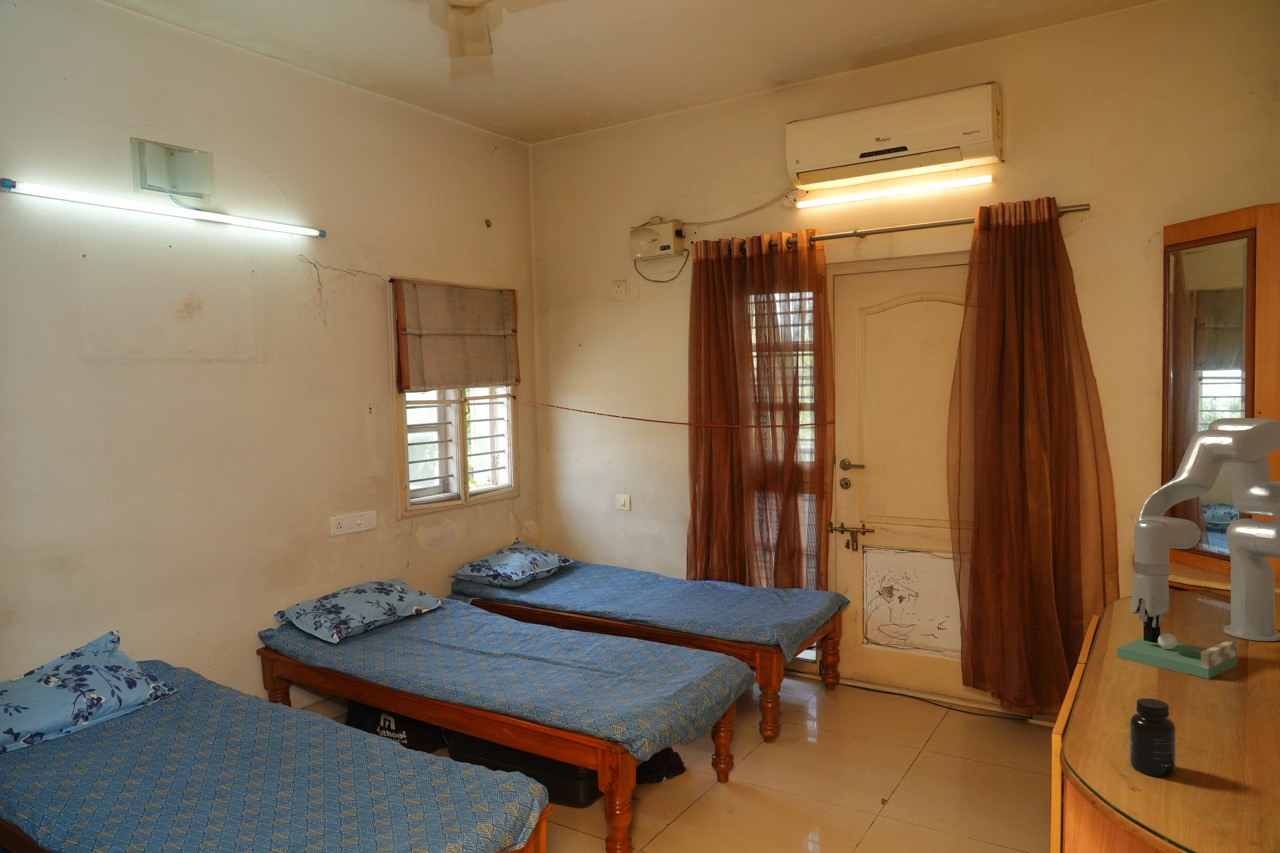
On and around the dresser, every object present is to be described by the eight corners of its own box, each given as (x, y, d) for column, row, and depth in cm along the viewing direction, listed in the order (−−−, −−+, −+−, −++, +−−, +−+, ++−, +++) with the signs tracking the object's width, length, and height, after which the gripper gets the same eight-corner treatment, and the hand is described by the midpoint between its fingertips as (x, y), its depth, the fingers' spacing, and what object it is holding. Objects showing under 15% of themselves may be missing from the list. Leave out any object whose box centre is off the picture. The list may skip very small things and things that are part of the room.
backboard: (1230, 653, 196) (1230, 639, 196) (1237, 655, 195) (1237, 640, 195) (1201, 666, 187) (1201, 652, 187) (1208, 668, 186) (1208, 653, 186)
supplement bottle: (1121, 761, 146) (1121, 696, 145) (1156, 759, 146) (1156, 694, 146) (1148, 779, 139) (1148, 711, 138) (1185, 777, 139) (1185, 709, 139)
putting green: (1148, 645, 211) (1148, 635, 211) (1237, 665, 195) (1237, 655, 195) (1117, 657, 202) (1117, 647, 202) (1208, 679, 186) (1208, 668, 186)
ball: (1163, 629, 203) (1181, 635, 199) (1161, 644, 203) (1178, 650, 200) (1156, 631, 200) (1173, 637, 197) (1153, 647, 201) (1171, 653, 198)
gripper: (1150, 563, 210) (1150, 632, 210) (1121, 571, 202) (1121, 643, 202) (1182, 567, 203) (1182, 639, 204) (1153, 576, 195) (1153, 650, 196)
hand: (1151, 641), depth 203 cm, fingers closed
